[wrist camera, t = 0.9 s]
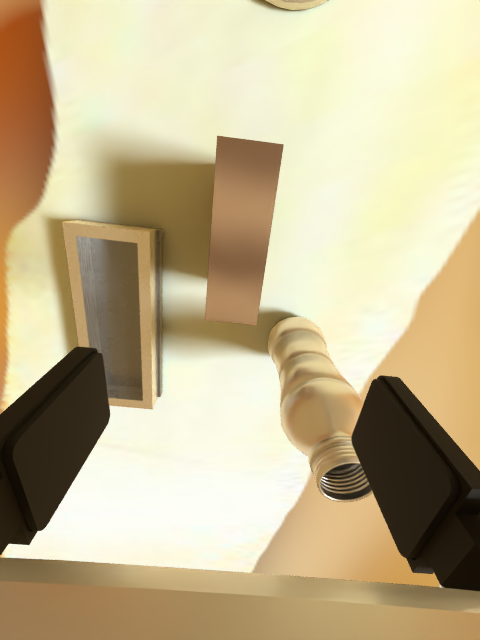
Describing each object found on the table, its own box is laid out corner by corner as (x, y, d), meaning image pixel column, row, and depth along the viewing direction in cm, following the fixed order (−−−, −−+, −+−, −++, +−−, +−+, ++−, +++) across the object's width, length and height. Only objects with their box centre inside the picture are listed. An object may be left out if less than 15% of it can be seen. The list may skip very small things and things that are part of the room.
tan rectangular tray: (78, 219, 29) (58, 221, 26) (162, 229, 30) (152, 232, 26) (97, 386, 38) (84, 402, 35) (162, 392, 38) (154, 409, 35)
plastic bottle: (316, 356, 36) (395, 517, 17) (264, 356, 36) (289, 517, 17) (321, 310, 33) (420, 442, 15) (266, 311, 33) (296, 442, 15)
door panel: (226, 164, 27) (216, 135, 16) (267, 169, 27) (284, 144, 16) (217, 280, 32) (204, 319, 21) (251, 284, 32) (257, 325, 21)
